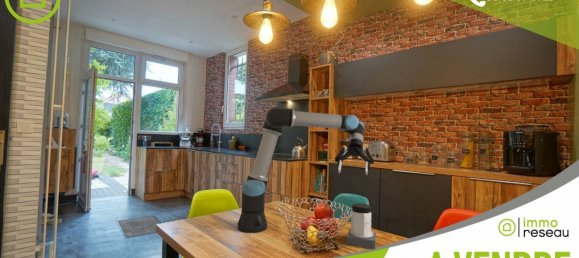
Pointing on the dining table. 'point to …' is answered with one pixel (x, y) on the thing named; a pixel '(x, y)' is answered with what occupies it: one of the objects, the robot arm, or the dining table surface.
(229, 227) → the dining table surface
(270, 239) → the dining table surface
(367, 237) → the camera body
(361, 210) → the jar
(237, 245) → the dining table surface
